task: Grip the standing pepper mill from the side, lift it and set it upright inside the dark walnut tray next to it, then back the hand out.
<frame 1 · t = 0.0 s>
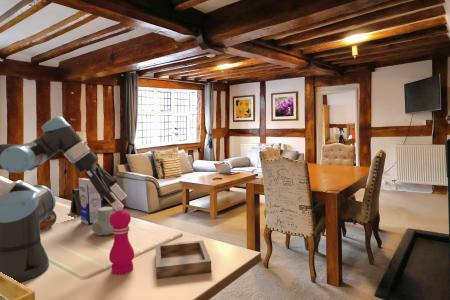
hand: (122, 203, 113), 15 cm above the worktop, tool tilted 35°, fingers open, 13 cm apart
walnut tray: (182, 263, 100), on the worktop
pepper mill: (122, 270, 96), on the worktop
door stopper: (80, 212, 153), on the worktop
milk carton: (92, 222, 139), on the worktop
air freshener: (106, 233, 126), on the worktop
tin: (36, 230, 130), on the worktop
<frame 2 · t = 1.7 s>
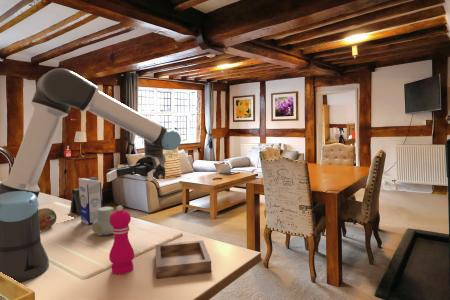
hand: (128, 177, 102), 27 cm above the worktop, tool horizontal, fingers open, 13 cm apart
nothing on the worktop moved.
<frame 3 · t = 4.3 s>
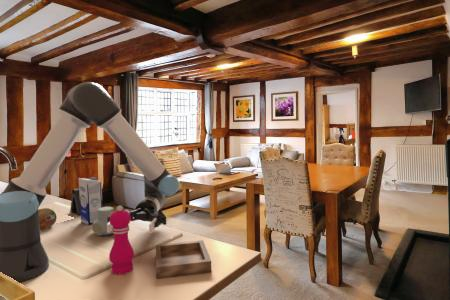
hand: (129, 228, 100), 11 cm above the worktop, tool horizontal, fingers open, 13 cm apart
nothing on the worktop moved.
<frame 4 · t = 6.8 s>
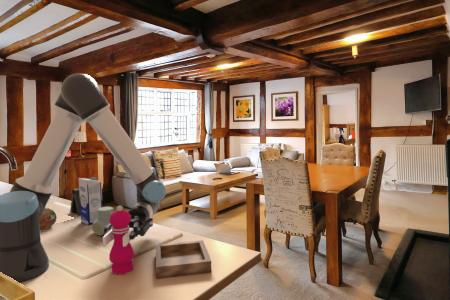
hand: (114, 241, 90), 11 cm above the worktop, tool horizontal, fingers closed on pepper mill, 5 cm apart
pepper mill: (122, 270, 96), on the worktop, touching gripper
everything else where it was.
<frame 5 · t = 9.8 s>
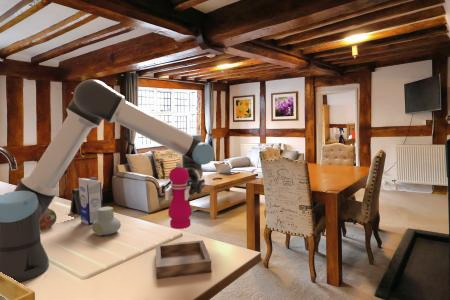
hand: (176, 195, 92), 23 cm above the worktop, tool horizontal, fingers closed on pepper mill, 5 cm apart
pepper mill: (180, 226, 99), point 12 cm above the worktop, touching gripper
everything else where it was.
when the fingers open (13 cm above the worktop, at t = 12.8 s): pepper mill drops 1 cm, resting on walnut tray.
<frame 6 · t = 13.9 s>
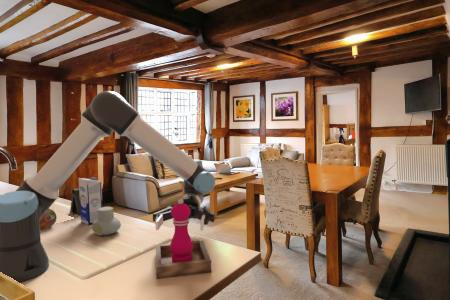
hand: (179, 226, 95), 13 cm above the worktop, tool horizontal, fingers open, 13 cm apart
pepper mill: (181, 261, 100), point 1 cm above the worktop, touching walnut tray
everything else where it was.
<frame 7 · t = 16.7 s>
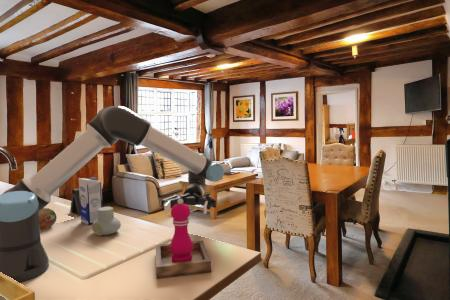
hand: (185, 209, 108), 14 cm above the worktop, tool horizontal, fingers open, 13 cm apart
nothing on the worktop moved.
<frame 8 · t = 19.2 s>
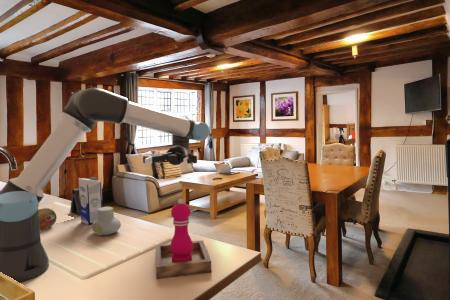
hand: (165, 162, 110), 30 cm above the worktop, tool horizontal, fingers open, 13 cm apart
nothing on the worktop moved.
at the end: pepper mill inside the target area on the walnut tray (0.0 cm from its centre), point 0.6 cm above the walnut tray's base; pepper mill tilted 0°; the gripper is holding nothing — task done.
